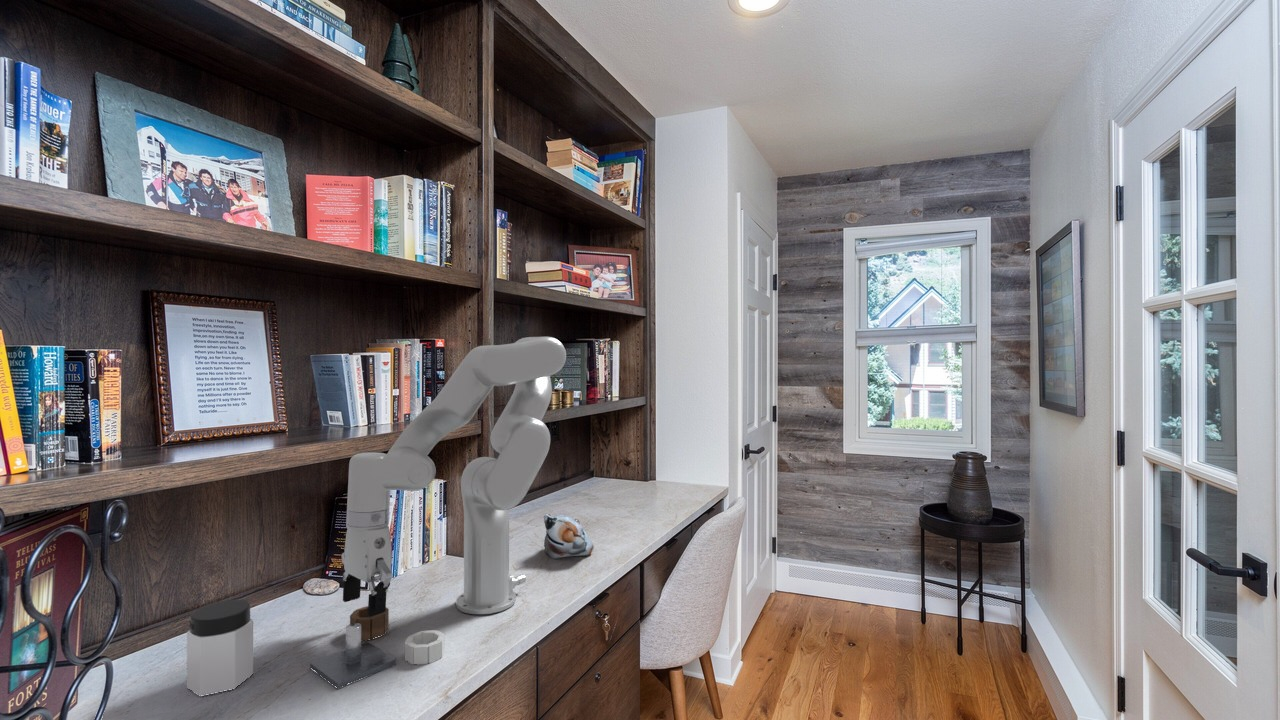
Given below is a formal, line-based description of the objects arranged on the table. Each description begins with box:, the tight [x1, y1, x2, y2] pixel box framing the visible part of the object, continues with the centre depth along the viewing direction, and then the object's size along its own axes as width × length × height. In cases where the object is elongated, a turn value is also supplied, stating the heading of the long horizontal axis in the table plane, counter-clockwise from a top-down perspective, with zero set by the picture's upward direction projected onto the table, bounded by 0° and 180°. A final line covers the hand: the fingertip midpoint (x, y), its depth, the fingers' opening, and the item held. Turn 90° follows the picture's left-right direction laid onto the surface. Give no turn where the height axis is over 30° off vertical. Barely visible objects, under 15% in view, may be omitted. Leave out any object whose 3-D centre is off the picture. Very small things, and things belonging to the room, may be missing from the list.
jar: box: [186, 599, 254, 697], centre depth 98 cm, size 9×8×12 cm
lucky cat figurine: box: [543, 513, 595, 560], centre depth 161 cm, size 15×12×14 cm
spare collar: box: [404, 629, 446, 665], centre depth 107 cm, size 6×6×3 cm
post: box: [309, 623, 397, 689], centre depth 103 cm, size 10×10×7 cm
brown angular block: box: [349, 605, 390, 640], centre depth 116 cm, size 6×6×4 cm
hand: (363, 606), depth 115 cm, fingers open, 9 cm apart
